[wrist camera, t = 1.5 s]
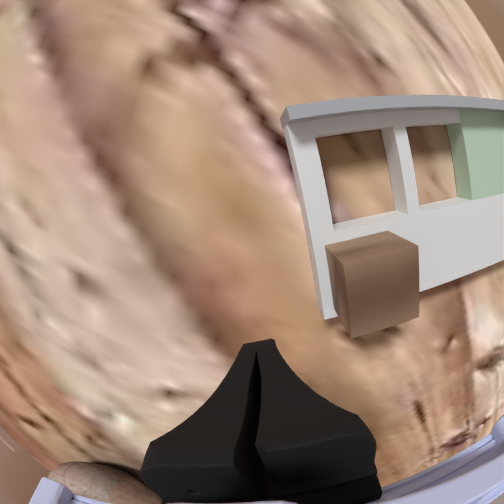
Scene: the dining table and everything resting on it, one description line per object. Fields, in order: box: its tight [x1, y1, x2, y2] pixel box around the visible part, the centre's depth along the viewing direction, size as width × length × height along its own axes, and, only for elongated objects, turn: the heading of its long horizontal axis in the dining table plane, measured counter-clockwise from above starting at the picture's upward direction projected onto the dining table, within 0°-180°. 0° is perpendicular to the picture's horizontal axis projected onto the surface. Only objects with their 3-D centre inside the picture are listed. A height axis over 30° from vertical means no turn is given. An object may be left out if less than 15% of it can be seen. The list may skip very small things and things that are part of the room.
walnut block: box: [325, 231, 419, 339], centre depth 16 cm, size 4×4×4 cm
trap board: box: [280, 95, 504, 320], centre depth 17 cm, size 14×21×4 cm, turn 103°
